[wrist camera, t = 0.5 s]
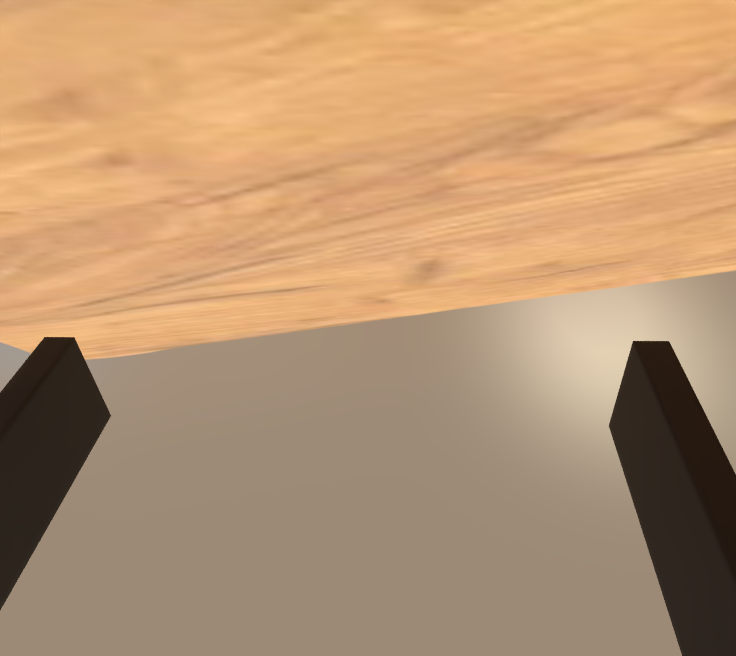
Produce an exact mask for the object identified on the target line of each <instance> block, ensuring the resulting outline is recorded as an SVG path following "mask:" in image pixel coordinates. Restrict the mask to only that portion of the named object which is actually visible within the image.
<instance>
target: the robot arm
mask: <svg viewBox="0 0 736 656" xmlns="http://www.w3.org/2000/svg"><path fill="white" fill-rule="evenodd" d="M110 416H111V415H110V413H109V411H108V408H107V406H106V404H105V402H104V400H103V398H102V396H101V393H100V391H99V389H98V387H97V385H96V383H95V381H94V379H93V376H92V374H91V372H90V370H89V368H88V366H87V364H86V361H85V359H84V357H83V355H82V353H81V351H80V349H79V347H78V344H77V342H76V340H75V338H74V337H44V339H43V340H42V341H41V342H40V344H39V345H38V346H37V347H36V349H35V350H34V351H33V352H32V354H31V355H30V356H29V357H28V359H27V360H26V361H25V363H24V364H23V365H22V366H21V368H20V369H19V370H18V371H17V372H16V374H15V375H14V376H13V377H12V379H11V380H10V381H9V382H8V384H7V385H6V386H5V387H4V389H3V390H2V391H1V392H0V610H1V608H2V606H3V605H4V603H5V601H6V599H7V598H8V596H9V594H10V592H11V591H12V588H13V587H14V585H15V583H16V582H17V580H18V578H19V576H20V575H21V573H22V571H23V569H24V568H25V566H26V564H27V562H28V561H29V559H30V557H31V555H32V554H33V552H34V550H35V548H36V547H37V545H38V543H39V541H40V540H41V538H42V536H43V534H44V533H45V531H46V529H47V527H48V525H49V524H50V522H51V520H52V518H53V517H54V515H55V513H56V511H57V510H58V508H59V506H60V504H61V503H62V501H63V499H64V497H65V495H66V494H67V492H68V490H69V489H70V487H71V485H72V483H73V482H74V480H75V478H76V476H77V474H78V472H79V471H80V469H81V467H82V466H83V464H84V462H85V460H86V459H87V457H88V455H89V453H90V451H91V450H92V448H93V446H94V445H95V443H96V441H97V439H98V438H99V436H100V434H101V432H102V431H103V429H104V427H105V425H106V424H107V422H108V420H109V418H110ZM609 428H610V431H611V434H612V437H613V440H614V443H615V446H616V450H617V453H618V456H619V459H620V462H621V465H622V468H623V471H624V475H625V478H626V481H627V484H628V487H629V490H630V493H631V496H632V500H633V503H634V506H635V509H636V512H637V515H638V518H639V521H640V525H641V528H642V531H643V534H644V537H645V540H646V543H647V546H648V549H649V553H650V556H651V559H652V562H653V565H654V569H655V572H656V575H657V578H658V581H659V584H660V587H661V590H662V594H663V597H664V600H665V603H666V606H667V609H668V612H669V616H670V618H671V622H672V625H673V628H674V631H675V634H676V638H677V641H678V644H679V647H680V650H681V653H682V656H736V474H735V472H734V471H733V468H732V466H731V465H730V462H729V460H728V458H727V456H726V454H725V452H724V450H723V448H722V446H721V444H720V443H719V440H718V438H717V436H716V434H715V432H714V430H713V428H712V426H711V424H710V422H709V420H708V418H707V416H706V414H705V412H704V410H703V408H702V406H701V404H700V402H699V400H698V398H697V396H696V394H695V393H694V390H693V389H692V387H691V384H690V382H689V380H688V378H687V376H686V374H685V372H684V370H683V368H682V367H681V364H680V362H679V360H678V358H677V356H676V354H675V352H674V350H673V348H672V346H671V344H670V342H669V341H633V344H632V348H631V351H630V354H629V357H628V361H627V364H626V368H625V371H624V375H623V378H622V382H621V385H620V389H619V392H618V396H617V399H616V403H615V406H614V410H613V413H612V417H611V420H610V424H609Z"/></svg>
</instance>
